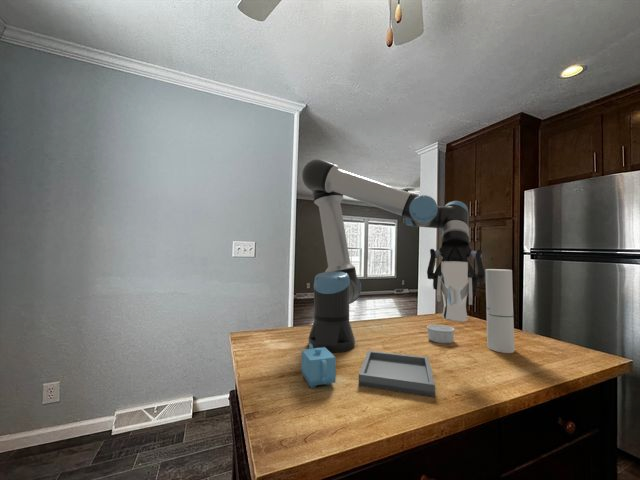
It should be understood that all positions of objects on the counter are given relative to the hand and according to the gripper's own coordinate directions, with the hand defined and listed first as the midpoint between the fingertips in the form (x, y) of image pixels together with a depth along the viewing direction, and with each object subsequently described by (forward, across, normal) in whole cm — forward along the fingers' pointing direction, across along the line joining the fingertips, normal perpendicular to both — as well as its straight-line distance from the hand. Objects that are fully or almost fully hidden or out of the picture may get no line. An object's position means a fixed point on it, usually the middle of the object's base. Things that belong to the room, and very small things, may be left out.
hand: (454, 299), depth 68 cm
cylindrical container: (-6, -13, -32) cm, 35 cm away
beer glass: (+1, 0, -6) cm, 7 cm away
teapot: (+27, +29, 0) cm, 39 cm away
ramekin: (-6, +5, -33) cm, 34 cm away
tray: (+19, +13, -7) cm, 24 cm away
